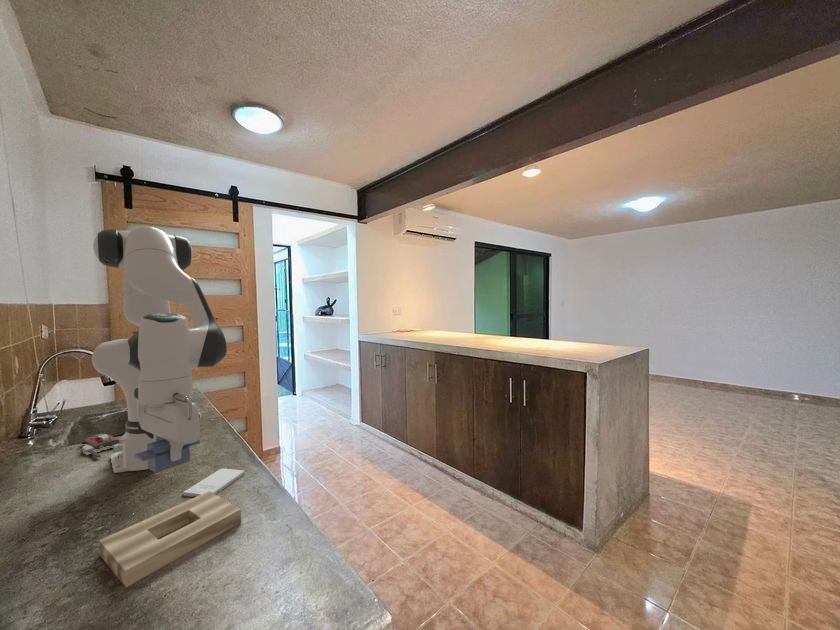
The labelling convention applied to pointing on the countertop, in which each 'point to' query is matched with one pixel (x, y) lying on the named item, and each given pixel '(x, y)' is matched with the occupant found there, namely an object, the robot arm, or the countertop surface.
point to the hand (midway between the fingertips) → (169, 456)
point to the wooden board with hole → (144, 553)
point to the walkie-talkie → (98, 443)
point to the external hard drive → (214, 482)
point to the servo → (163, 455)
